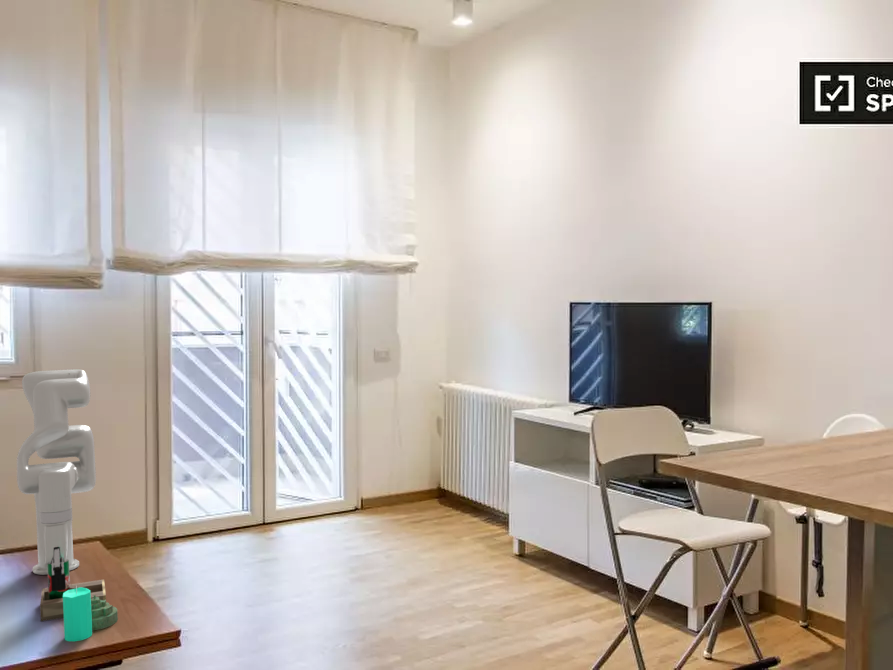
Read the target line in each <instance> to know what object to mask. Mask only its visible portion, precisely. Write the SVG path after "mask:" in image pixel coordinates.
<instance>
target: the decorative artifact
mask: <svg viewBox="0 0 893 670" xmlns="http://www.w3.org/2000/svg"><path fill="white" fill-rule="evenodd" d="M91 615H92V631H98V630H102V629H105V628H109V627H111V626H113V625H115V624H116V623H117V622H118V619H119V618H118V616H119V615H118V608H117V607H115V606H113V604H110V602H108V601H107V599H106V600H100V599H99V597H96V595H94V598H92V599H91Z"/></svg>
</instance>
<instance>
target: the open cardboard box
mask: <svg viewBox="0 0 893 670" xmlns="http://www.w3.org/2000/svg"><path fill="white" fill-rule="evenodd" d="M76 586H77V588H80V587H83V588H87V589H89V590H90V592H91V599H92V598H94V595H96V597H99V599H100V600H106V601H107V594H106V593H107V592H106V585H105V579H98V580H92V581H84V582H78V583H72V584H71V583H70V590H71V589H76ZM40 595H41V596H40V602H39V611H40V613H39V614H40V616H39V617H40V622H46V621H52V620H59V619H64V613H63V598H59V599H53V600H49V595H48V587H44V588H41V594H40Z"/></svg>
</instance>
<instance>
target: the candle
mask: <svg viewBox="0 0 893 670" xmlns="http://www.w3.org/2000/svg"><path fill="white" fill-rule="evenodd" d="M63 613H64V618H63V633H64V634H63V635H64V636H63V637H64V640H65V642H80V641H83V640H86V639H89V638H90V637H92V636H93V630H92V615H91V592H90V590H89V589H87V588H83V587H80V588H77V586H76V589H71V590H67V591H66V592H64V593H63Z"/></svg>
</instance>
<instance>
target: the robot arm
mask: <svg viewBox="0 0 893 670" xmlns="http://www.w3.org/2000/svg"><path fill="white" fill-rule="evenodd" d="M21 384H22V385H21V386H22V390H23V394H24V395H25V398H26V400H27V402H28V404H29V407H30V408H31V410H32V414H33V427H34V430H33V431H32V433H31V434H30V435H29V436H28V437H27V438H26V439H25V440H24V441H23V442H22V444H21V446H20V448H19V450H18V452H17V453H18V454H17V457H16V482H17V488H18V490H19V491H20V492H21V493H22V494H25V495H33V496H34V497H33V498H34V503H35V504H34V506H35V517H36V518H35V519H36V521H35V522H36V542H37V543H36V544H37V561H38V563H37V564H35V565H34V566H32V573H34V574H35V575H41V576H45V575H47V576H48V571H47V565H48V563H51V560H52V564H51V565H52V575H51V586H52V591H58V590H65V589H66V582H65V573H64V562H65V561H66V559H67V558H68V559H69V572H70V571H72V570H76V569H77V568H79V566H80V561H79V560H78V559H76V558H74V546H73V545H74V543H73V541H74V539H73V504H72V503H73V501H72V494H78V493H86V492H90V491H92V490H93V489H95V486H96V483H97V481H96V480H97V478H96V477H97V476H96V475H97V474H96V473H97V472H96V453H95V452H96V451H95V439H94V438H95V437H94V434H93V431H92V429H91V427H90V426H88V425H87V424H86V425H85V424H73V425H69V414H68V409H74V408H75V409H76V408H85V407H87V406H88V405H89V404H90V400H91V387H90V386H91V385H90V380H89V376H88V374H87V372H86V371H85V370H83V369H80V368H79V369H73V368H72V369H59V370H58V369H56V370H55V369H54V370H53V369H51V370H38V371H33V372H28V373H26V374H24V376H23V377H22V380H21ZM35 452H36V455H37V457H39V458H40V459H42V460H43V459H44V460H53V459H64V458H74V457H75V458H77V459H78V460H73V461H60V462H49V463H48V462H47V463H38V464H37V463H36V464H29V460H30V458H31V456H32V455H33V454H34V453H35ZM60 560H62V562H60ZM53 561H54V563H53ZM60 564H61V566H60ZM61 569H62V571H61Z"/></svg>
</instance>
